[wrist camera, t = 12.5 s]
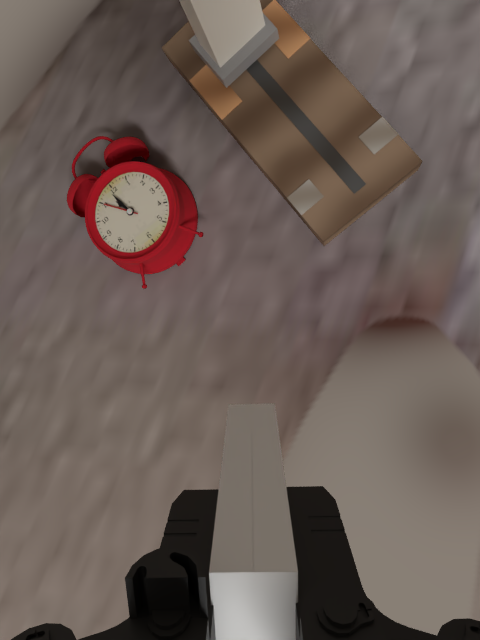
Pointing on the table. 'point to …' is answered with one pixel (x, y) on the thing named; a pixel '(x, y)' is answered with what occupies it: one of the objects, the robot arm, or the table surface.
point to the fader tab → (229, 34)
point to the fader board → (303, 126)
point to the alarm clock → (135, 209)
